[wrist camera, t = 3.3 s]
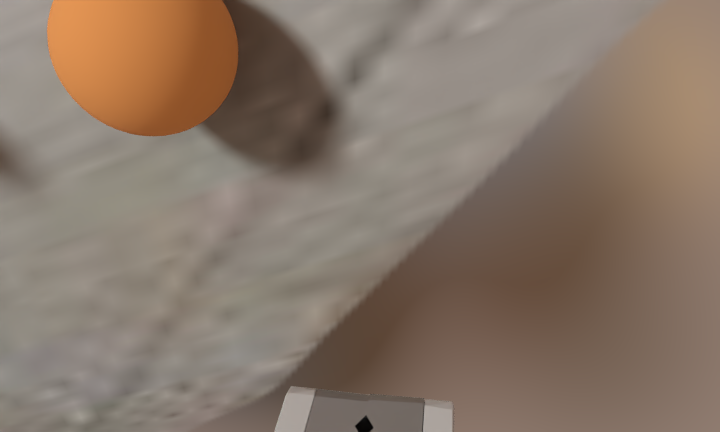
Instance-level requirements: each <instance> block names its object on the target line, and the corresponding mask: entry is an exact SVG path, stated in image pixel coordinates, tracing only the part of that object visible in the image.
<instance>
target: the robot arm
mask: <svg viewBox="0 0 720 432" xmlns="http://www.w3.org/2000/svg"><path fill="white" fill-rule="evenodd" d="M275 432H454V405H453V402H452V401H441V400H428V399H425V401H424V398H413V397H402V396H389V395H375V394H370V395H365V394H356V393H348V392H339V391H330V390H322V389H313V388H303V387H293V386H291V387H290V389H289V391H288V392H287V394H286V396H285V399H284V403H283V406H282V409H281V412H280V415H279V419H278V422H277V425H276V428H275Z"/></svg>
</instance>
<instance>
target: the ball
mask: <svg viewBox="0 0 720 432" xmlns="http://www.w3.org/2000/svg"><path fill="white" fill-rule="evenodd" d="M47 35H48V47H49V53H50V57H51V60H52V64H53V66H54V69H55V71H56V73H57V75H58V77H59V79H60V81H61V83H62V84H63V86H64V87H65V89H66V90H67V92H68V93H69V94H70V95H71V97H72V98H73V99H74V100H75V101H76V102H77V103H78V104H79V105H80V106H81V107H82V108H83V109H84V110H85V111H86V112H88V113H89V114H90V115H91V116H93V117H94V118H96V119H97V120H99V121H101V122H102V123H104V124H106V125H108V126H110V127H113V128H115V129H118V130H121V131H124V132H127V133H130V134H135V135H142V136H165V135H171V134H175V133H180V132H183V131H185V130H188V129H190V128H192V127H194V126H196V125H198V124H200V123H202V122H203V121H204V120H206V119H207V118H208V117H210V116H211V115H212V114H213V113H214V112H215V111H216V110H217V109H218V108H219V107H220V105H221V104H222V103H223V101H224V100H225V98H226V97H227V95H228V93H229V91H230V89H231V87H232V85H233V82H234V79H235V75H236V72H237V65H238V42H237V35H236V31H235V27H234V24H233V21H232V18H231V16H230V14H229V12H228V10H227V8H226V6H225V4H224V2H223V1H222V0H54V1H53V3H52V6H51V10H50V14H49V18H48V27H47Z"/></svg>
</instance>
